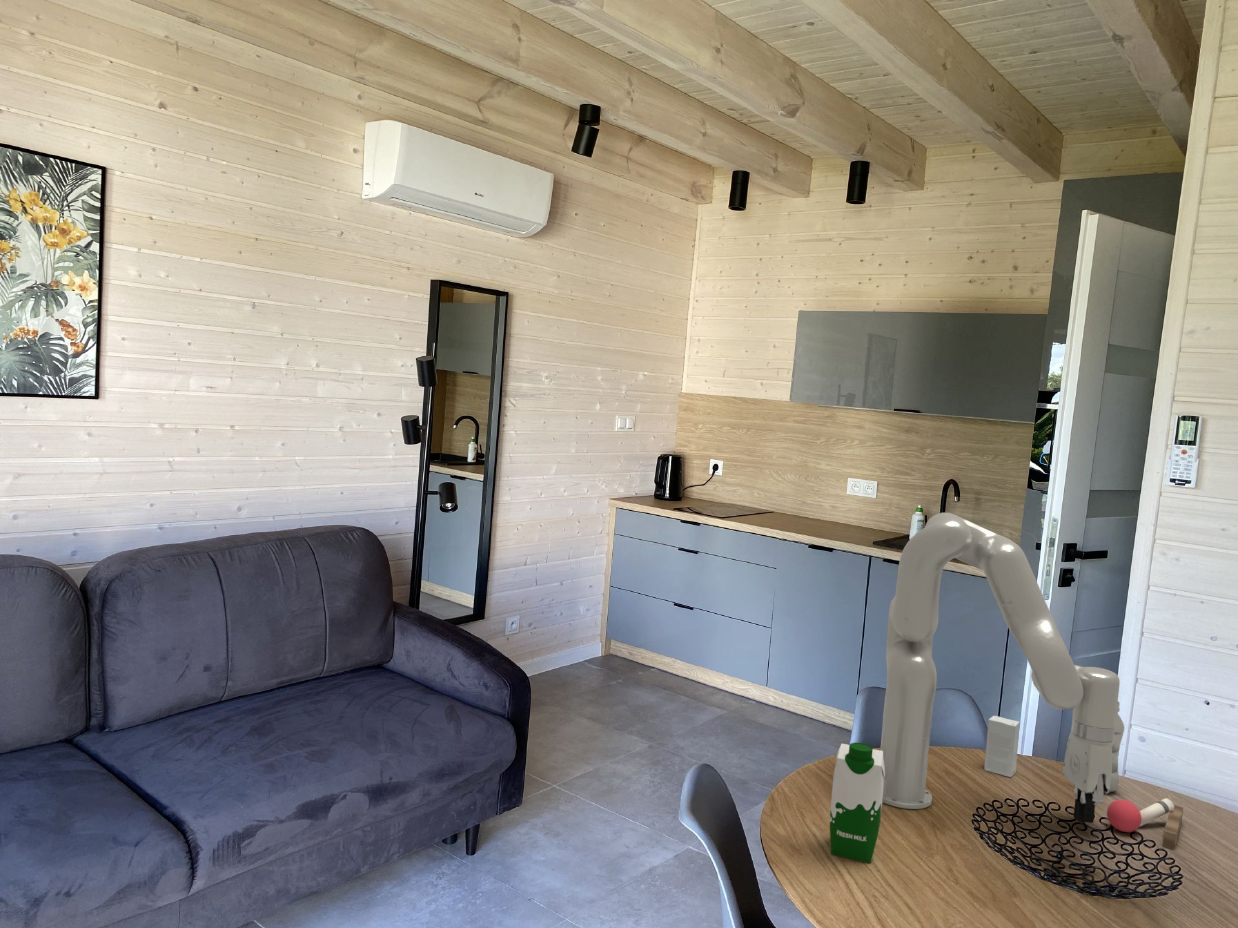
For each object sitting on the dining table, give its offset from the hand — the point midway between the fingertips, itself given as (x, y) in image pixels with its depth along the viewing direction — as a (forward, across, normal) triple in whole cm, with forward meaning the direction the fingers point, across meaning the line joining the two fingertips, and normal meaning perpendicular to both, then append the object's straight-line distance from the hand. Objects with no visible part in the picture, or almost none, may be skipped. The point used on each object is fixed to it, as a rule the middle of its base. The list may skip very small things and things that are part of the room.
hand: (1083, 820), depth 177 cm
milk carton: (+2, +17, -50) cm, 53 cm away
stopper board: (+1, 0, +18) cm, 18 cm away
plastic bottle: (+2, -20, +14) cm, 24 cm away
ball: (-2, 0, +8) cm, 8 cm away
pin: (0, -2, +12) cm, 12 cm away
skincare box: (+2, -26, -6) cm, 27 cm away
